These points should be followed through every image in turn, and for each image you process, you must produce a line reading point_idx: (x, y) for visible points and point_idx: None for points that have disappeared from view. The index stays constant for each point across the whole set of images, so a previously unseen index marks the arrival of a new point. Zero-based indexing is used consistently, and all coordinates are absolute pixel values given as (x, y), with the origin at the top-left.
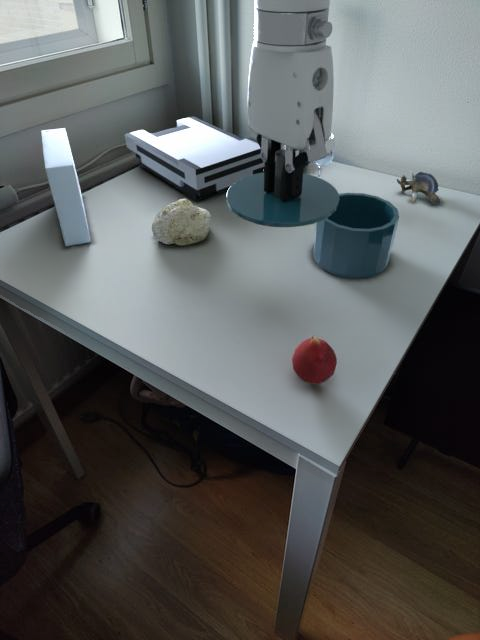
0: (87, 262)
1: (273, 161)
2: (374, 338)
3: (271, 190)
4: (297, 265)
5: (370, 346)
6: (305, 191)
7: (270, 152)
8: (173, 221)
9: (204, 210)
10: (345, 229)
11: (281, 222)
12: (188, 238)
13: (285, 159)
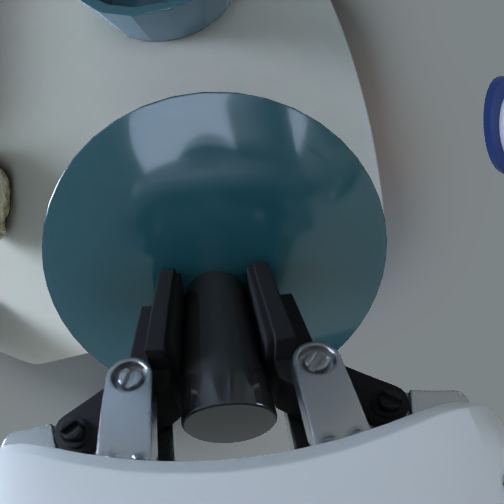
0: (17, 310)
1: (179, 397)
2: (330, 102)
3: None
4: (126, 70)
5: (336, 118)
6: (248, 224)
7: (162, 427)
8: None
9: None
10: (189, 2)
11: None
12: (5, 205)
13: (290, 438)
